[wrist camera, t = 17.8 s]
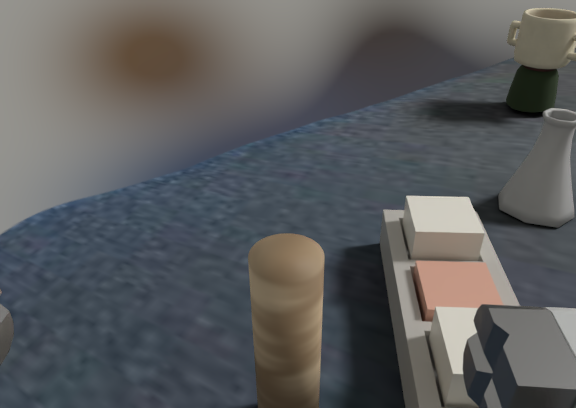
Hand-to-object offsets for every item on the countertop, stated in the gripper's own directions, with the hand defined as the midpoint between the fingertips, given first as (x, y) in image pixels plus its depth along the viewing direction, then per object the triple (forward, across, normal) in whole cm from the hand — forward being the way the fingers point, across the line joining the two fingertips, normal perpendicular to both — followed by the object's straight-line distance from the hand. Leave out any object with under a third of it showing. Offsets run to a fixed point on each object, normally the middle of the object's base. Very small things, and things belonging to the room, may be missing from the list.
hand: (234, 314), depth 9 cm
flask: (+37, -24, +22) cm, 50 cm away
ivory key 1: (+27, -12, +19) cm, 35 cm away
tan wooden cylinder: (+12, -1, +22) cm, 25 cm away
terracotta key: (+20, -12, +20) cm, 31 cm away
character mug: (+63, -32, +22) cm, 74 cm away
